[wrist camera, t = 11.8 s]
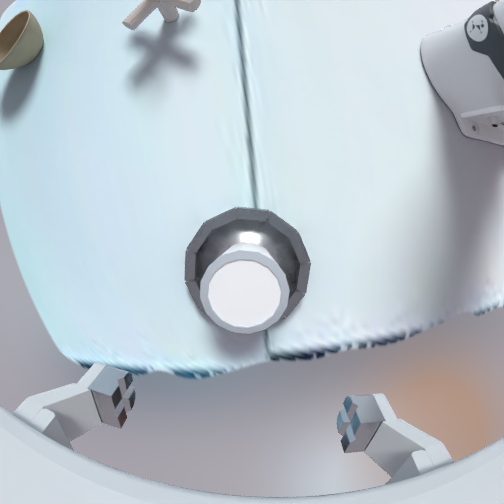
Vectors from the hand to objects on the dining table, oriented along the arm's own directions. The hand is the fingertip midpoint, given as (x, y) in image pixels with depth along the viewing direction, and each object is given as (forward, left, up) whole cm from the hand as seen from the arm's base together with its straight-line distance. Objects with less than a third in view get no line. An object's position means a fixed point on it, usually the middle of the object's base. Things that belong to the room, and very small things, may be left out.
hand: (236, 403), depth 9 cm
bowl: (0, 0, -19) cm, 19 cm away
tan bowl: (+37, -30, -20) cm, 52 cm away
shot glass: (0, 0, -19) cm, 19 cm away
